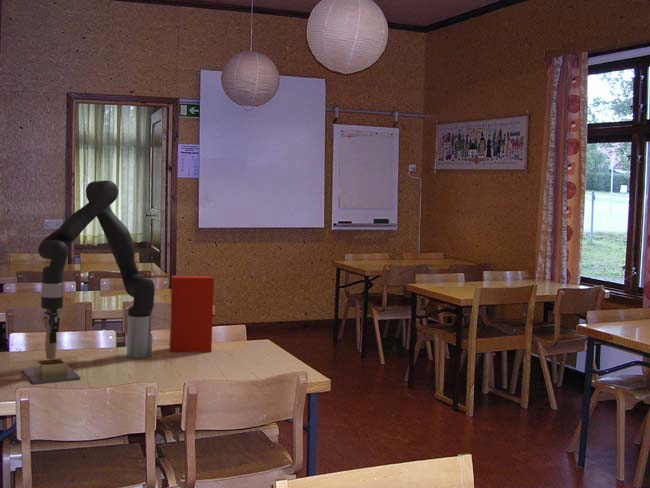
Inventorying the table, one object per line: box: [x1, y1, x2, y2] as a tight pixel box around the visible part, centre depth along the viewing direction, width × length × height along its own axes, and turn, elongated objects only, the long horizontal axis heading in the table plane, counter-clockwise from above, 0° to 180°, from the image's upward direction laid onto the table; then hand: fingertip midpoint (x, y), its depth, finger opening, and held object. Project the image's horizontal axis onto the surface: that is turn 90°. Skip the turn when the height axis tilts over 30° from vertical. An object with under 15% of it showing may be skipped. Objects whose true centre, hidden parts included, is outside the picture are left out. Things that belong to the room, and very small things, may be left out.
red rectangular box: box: [169, 275, 215, 353], centre depth 316 cm, size 8×17×32 cm, turn 104°
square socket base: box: [21, 357, 81, 385], centre depth 268 cm, size 16×20×5 cm
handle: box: [41, 316, 62, 360], centre depth 267 cm, size 5×6×15 cm
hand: (51, 341), depth 267 cm, fingers closed on handle, 4 cm apart
